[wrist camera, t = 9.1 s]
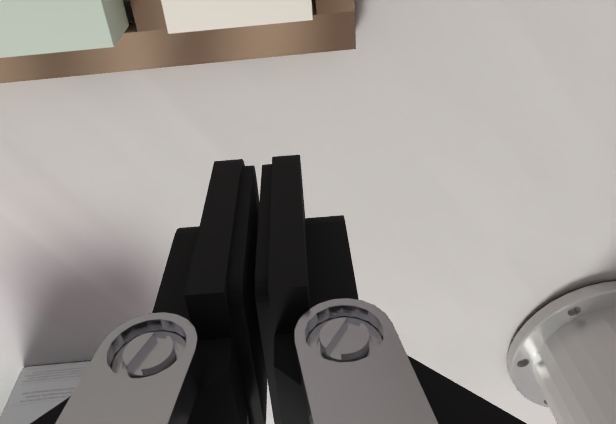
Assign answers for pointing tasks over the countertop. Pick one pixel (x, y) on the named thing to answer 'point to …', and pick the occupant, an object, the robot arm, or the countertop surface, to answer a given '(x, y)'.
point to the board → (192, 44)
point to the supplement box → (41, 391)
